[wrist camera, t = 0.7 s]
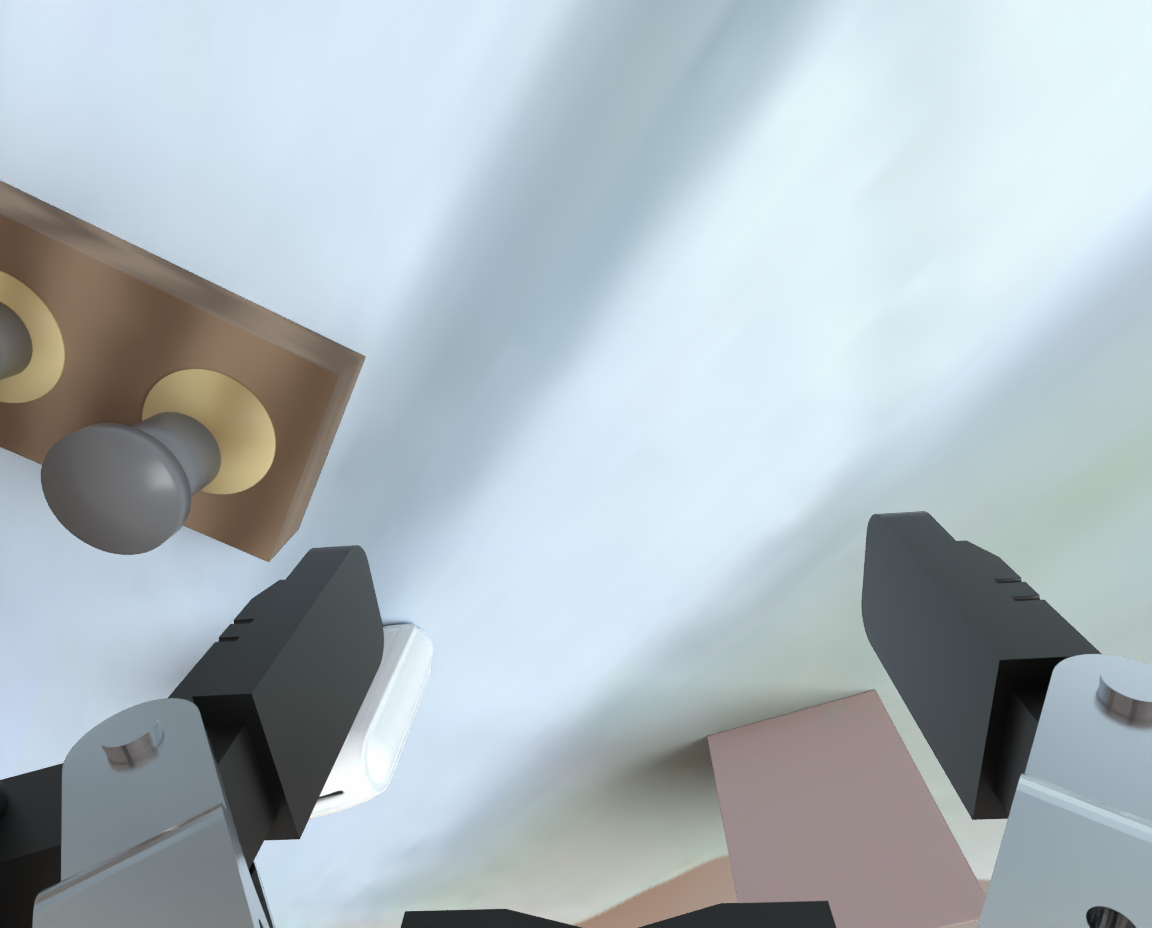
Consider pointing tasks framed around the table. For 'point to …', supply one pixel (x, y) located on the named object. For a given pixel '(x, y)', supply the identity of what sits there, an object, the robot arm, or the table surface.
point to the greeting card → (839, 820)
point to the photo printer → (380, 722)
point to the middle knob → (13, 343)
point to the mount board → (168, 368)
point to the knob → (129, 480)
